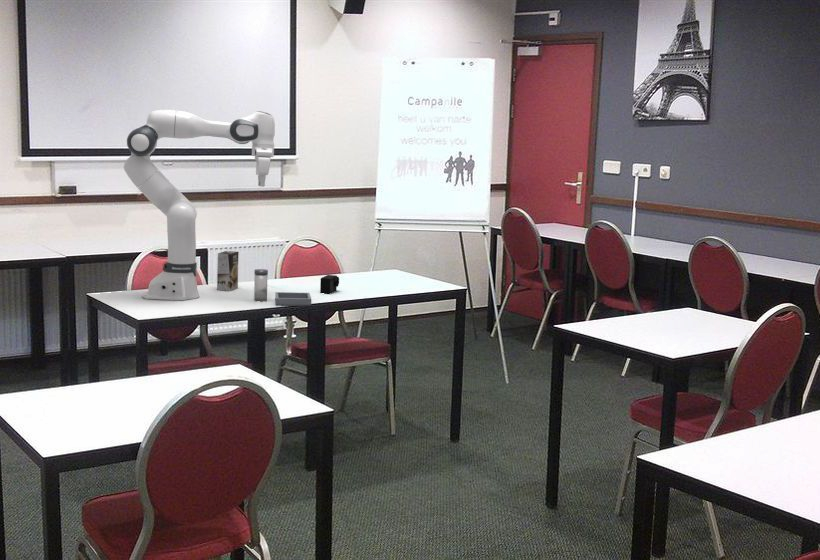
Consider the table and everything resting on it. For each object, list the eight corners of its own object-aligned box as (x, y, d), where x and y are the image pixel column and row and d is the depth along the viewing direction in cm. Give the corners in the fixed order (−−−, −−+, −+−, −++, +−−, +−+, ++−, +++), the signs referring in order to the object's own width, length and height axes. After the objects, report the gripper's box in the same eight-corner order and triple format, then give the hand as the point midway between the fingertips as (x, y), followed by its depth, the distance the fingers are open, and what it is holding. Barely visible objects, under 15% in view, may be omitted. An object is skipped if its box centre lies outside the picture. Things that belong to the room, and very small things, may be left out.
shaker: (253, 301, 389) (254, 271, 387) (253, 299, 394) (254, 269, 392) (267, 301, 390) (267, 271, 388) (267, 299, 395) (267, 269, 393)
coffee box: (230, 291, 410) (231, 253, 407) (216, 290, 411) (217, 252, 409) (238, 288, 419) (239, 251, 416) (224, 286, 420) (225, 250, 417)
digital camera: (332, 294, 413) (332, 278, 411) (320, 293, 414) (320, 277, 413) (339, 291, 423) (339, 275, 422) (327, 290, 424) (327, 274, 423)
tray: (275, 305, 382) (276, 298, 382) (275, 299, 396) (275, 292, 395) (311, 306, 384) (311, 298, 384) (309, 299, 398) (309, 292, 398)
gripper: (253, 152, 398) (251, 185, 400) (256, 151, 379) (255, 186, 380) (268, 153, 400) (267, 186, 401) (272, 152, 380) (271, 187, 381)
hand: (261, 186), depth 390 cm, fingers open, 8 cm apart
